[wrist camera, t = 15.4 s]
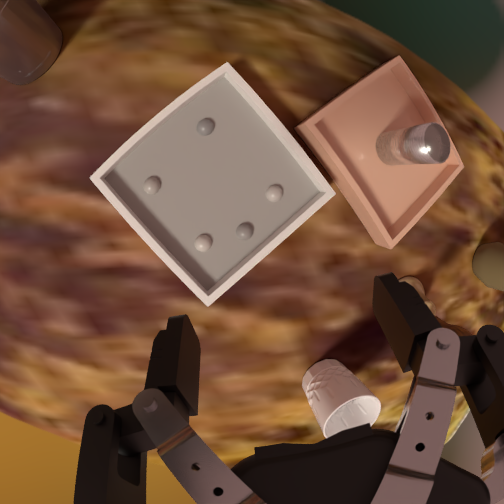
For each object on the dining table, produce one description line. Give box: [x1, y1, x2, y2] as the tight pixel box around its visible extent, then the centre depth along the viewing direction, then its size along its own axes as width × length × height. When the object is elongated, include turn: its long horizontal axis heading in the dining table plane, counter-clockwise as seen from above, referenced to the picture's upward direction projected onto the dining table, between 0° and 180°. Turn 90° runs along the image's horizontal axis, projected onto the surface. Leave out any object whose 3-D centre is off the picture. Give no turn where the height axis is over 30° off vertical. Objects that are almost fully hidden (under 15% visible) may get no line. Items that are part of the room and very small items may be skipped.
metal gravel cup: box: [376, 122, 450, 166], centre depth 30 cm, size 4×4×9 cm
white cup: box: [302, 359, 381, 438], centre depth 36 cm, size 8×8×10 cm
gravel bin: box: [90, 62, 336, 306], centre depth 30 cm, size 18×18×4 cm
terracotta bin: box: [293, 55, 464, 249], centre depth 33 cm, size 18×18×4 cm
